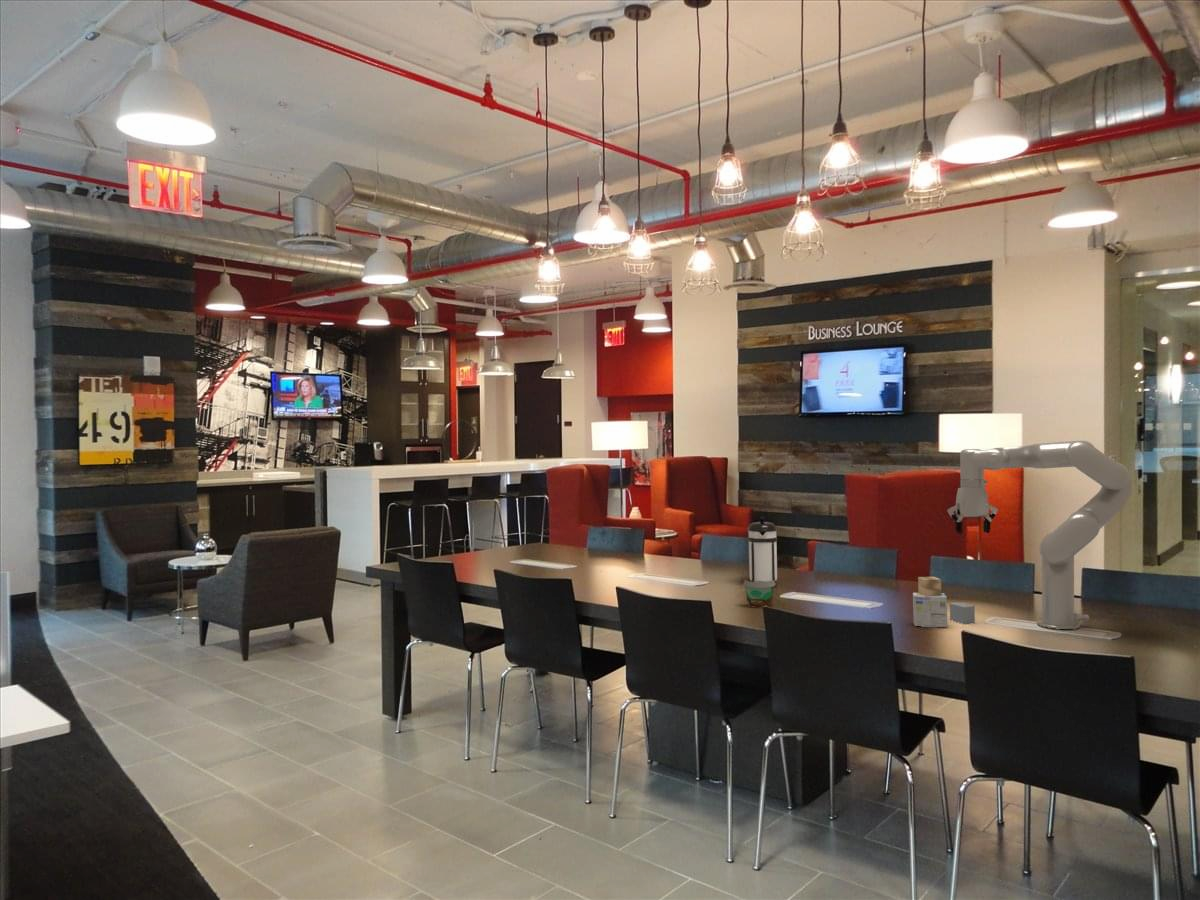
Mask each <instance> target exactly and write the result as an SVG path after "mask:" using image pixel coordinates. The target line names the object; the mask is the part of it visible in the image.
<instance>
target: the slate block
mask: <svg viewBox="0 0 1200 900" xmlns="http://www.w3.org/2000/svg"><path fill="white" fill-rule="evenodd" d="M975 610H976V609H975V605H972V604H968V603H965V602H959V601H958V602H951V603H949V620H950V621H951V620H953V621H952V622H955V621H956V623H958V622H959V624H961V623H962V624H961V625H969V624H968V623H973V624H975V623H976V622H975V621H976V618H975V617H976V616H975V615H976V612H975Z"/></svg>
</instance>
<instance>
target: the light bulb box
mask: <svg viewBox="0 0 1200 900" xmlns="http://www.w3.org/2000/svg"><path fill="white" fill-rule="evenodd" d="M947 599H948V598H947V595H946V594H945V593H944V592H943V593H942V592H941V596H924V595H922V594H920V593H918V592H912V611H913V612H912V613H913V624H914V625H915V626H921V627H920V628H937V627H947V628H948V600H947ZM914 625H913V626H914ZM915 626H914V627H915Z"/></svg>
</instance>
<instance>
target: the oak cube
mask: <svg viewBox="0 0 1200 900" xmlns="http://www.w3.org/2000/svg"><path fill="white" fill-rule="evenodd" d="M917 586H918V587H917V588H918V592H917V593H920V594H922V595H924V596H941V593H942V579H940V578H938V577H936V576H918V577H917Z"/></svg>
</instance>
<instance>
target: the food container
mask: <svg viewBox="0 0 1200 900" xmlns="http://www.w3.org/2000/svg"><path fill="white" fill-rule="evenodd" d="M743 586H744V587H745V593H746V602H747V606H748V605H750V606H755V607H762V606H765V605H767V606H771V605H772V606H773V599H774V590H775V589H774V586H775V582H774V580H773V581H769V582H764V581H754V582H751V581H749V580H746V579H744V580H743ZM775 587H776V586H775ZM750 606H749V607H750ZM772 606H771V607H772ZM755 607H754V608H755Z"/></svg>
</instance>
